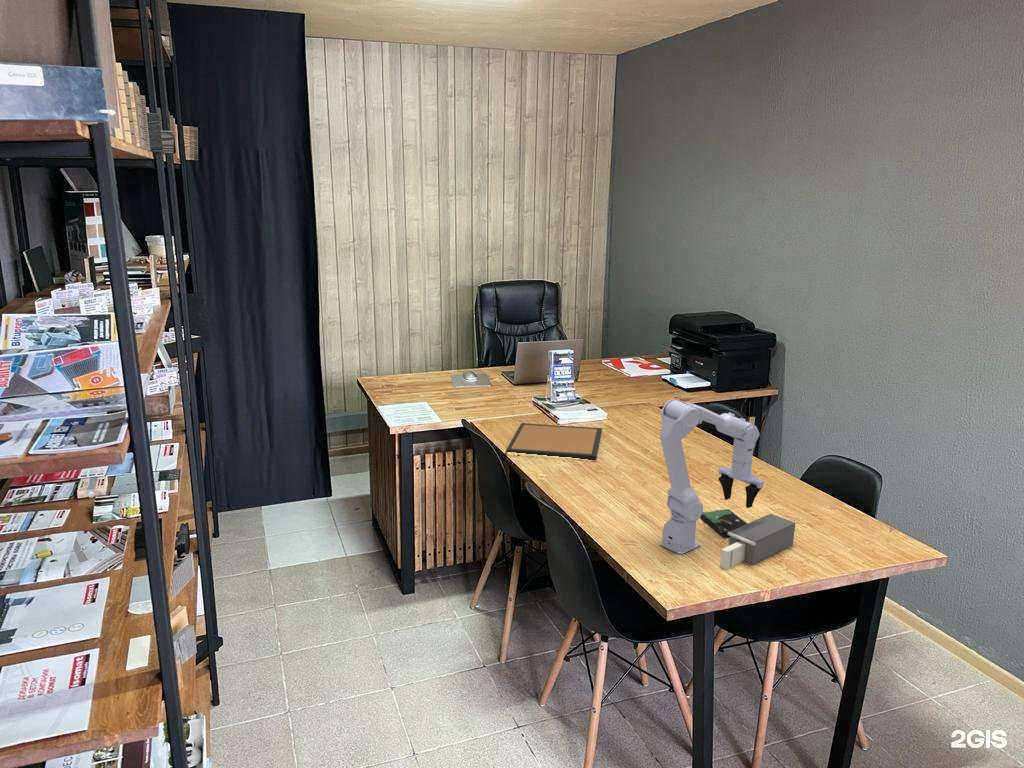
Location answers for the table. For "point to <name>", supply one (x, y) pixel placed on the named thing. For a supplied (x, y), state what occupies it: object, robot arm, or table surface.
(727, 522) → the disk drive
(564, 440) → the cork board
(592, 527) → the table surface
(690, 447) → the table surface
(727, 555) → the cream rectangular block
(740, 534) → the dispenser
